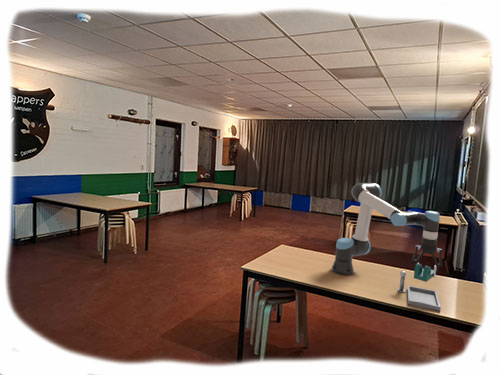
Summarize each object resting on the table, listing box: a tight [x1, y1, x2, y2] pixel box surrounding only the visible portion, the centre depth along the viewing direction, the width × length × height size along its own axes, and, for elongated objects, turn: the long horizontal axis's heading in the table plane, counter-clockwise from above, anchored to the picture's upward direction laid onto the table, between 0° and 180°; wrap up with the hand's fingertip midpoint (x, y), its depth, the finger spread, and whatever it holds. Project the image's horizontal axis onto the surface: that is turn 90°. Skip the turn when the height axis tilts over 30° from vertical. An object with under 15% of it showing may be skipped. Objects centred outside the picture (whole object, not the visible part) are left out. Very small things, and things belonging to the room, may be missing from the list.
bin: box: [406, 285, 442, 312], centre depth 195 cm, size 16×24×2 cm, turn 156°
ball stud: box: [397, 270, 407, 293], centre depth 205 cm, size 4×4×13 cm
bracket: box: [413, 263, 434, 283], centre depth 192 cm, size 18×7×8 cm, turn 135°
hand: (425, 275), depth 193 cm, fingers closed on bracket, 8 cm apart
